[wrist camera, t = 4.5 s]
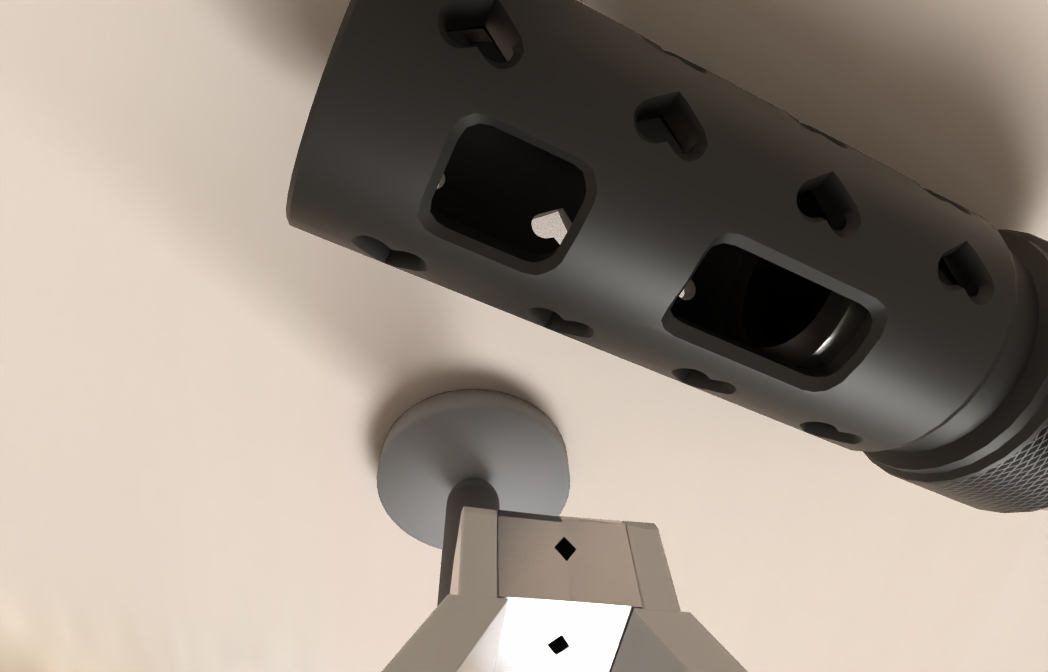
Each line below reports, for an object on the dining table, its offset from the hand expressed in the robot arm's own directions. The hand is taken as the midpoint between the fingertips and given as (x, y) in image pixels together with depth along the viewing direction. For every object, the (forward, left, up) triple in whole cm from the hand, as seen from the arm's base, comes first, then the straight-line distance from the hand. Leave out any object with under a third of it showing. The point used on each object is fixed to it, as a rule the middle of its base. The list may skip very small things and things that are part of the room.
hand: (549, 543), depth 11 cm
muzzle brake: (-8, 0, -19) cm, 21 cm away
